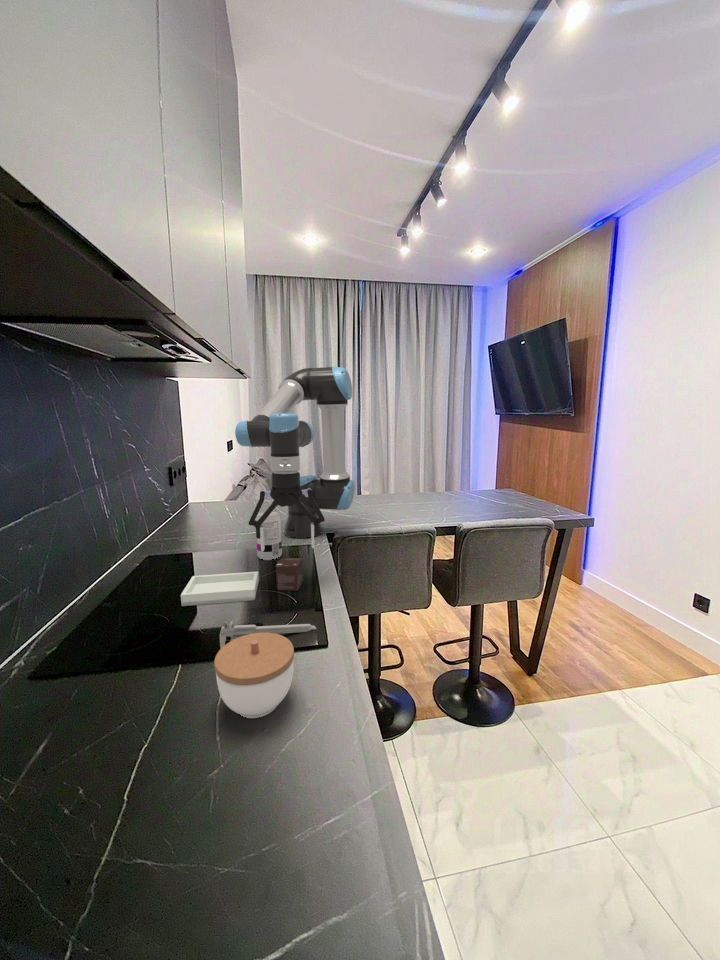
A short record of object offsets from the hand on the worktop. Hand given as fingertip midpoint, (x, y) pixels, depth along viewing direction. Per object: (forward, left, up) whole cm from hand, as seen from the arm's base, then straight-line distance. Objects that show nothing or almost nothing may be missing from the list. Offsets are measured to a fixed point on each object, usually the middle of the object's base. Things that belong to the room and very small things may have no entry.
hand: (288, 548), depth 108 cm
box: (0, 0, -12) cm, 12 cm away
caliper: (+26, -4, -12) cm, 28 cm away
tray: (+1, -18, -11) cm, 21 cm away
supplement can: (-25, -7, -12) cm, 29 cm away
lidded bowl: (+45, -5, -12) cm, 46 cm away
